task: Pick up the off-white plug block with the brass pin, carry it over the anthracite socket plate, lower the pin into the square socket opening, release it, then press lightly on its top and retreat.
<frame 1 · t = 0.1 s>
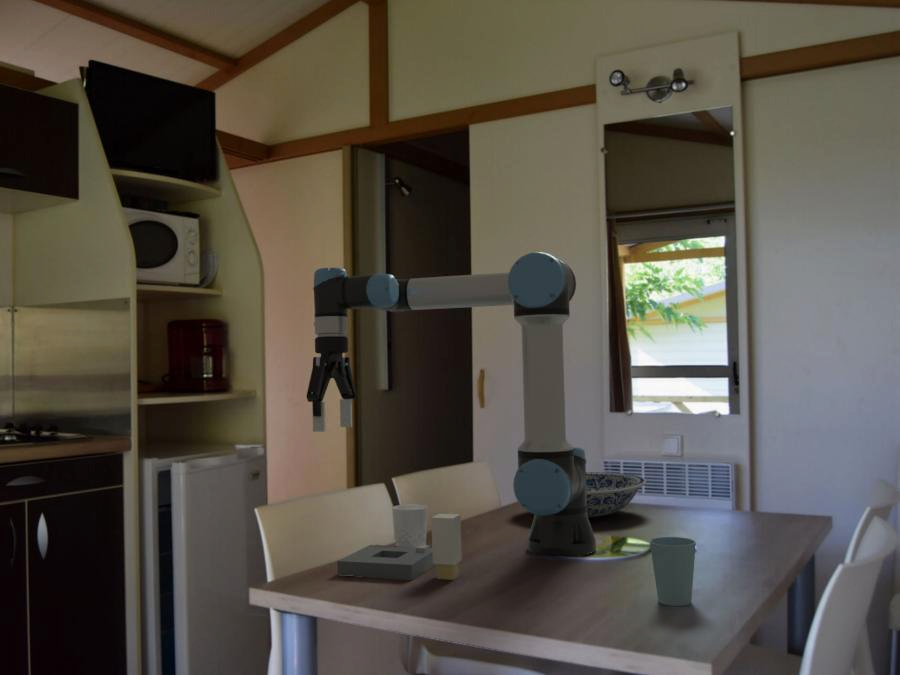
hand: (333, 429, 195), 28 cm above the table, fingers open, 13 cm apart
ceramic bowl: (582, 517, 234), on the table
plug: (447, 577, 169), on the table
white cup: (410, 552, 194), on the table
cup: (674, 603, 148), on the table
socket plate: (389, 568, 177), on the table
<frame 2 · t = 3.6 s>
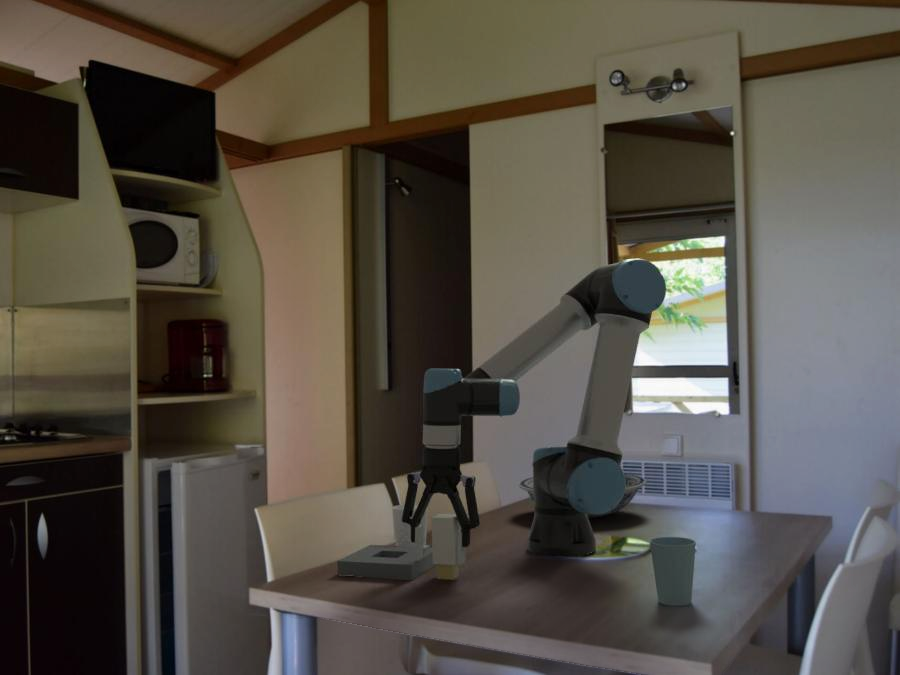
hand: (439, 561, 170), 3 cm above the table, fingers open, 8 cm apart
nothing on the table moved.
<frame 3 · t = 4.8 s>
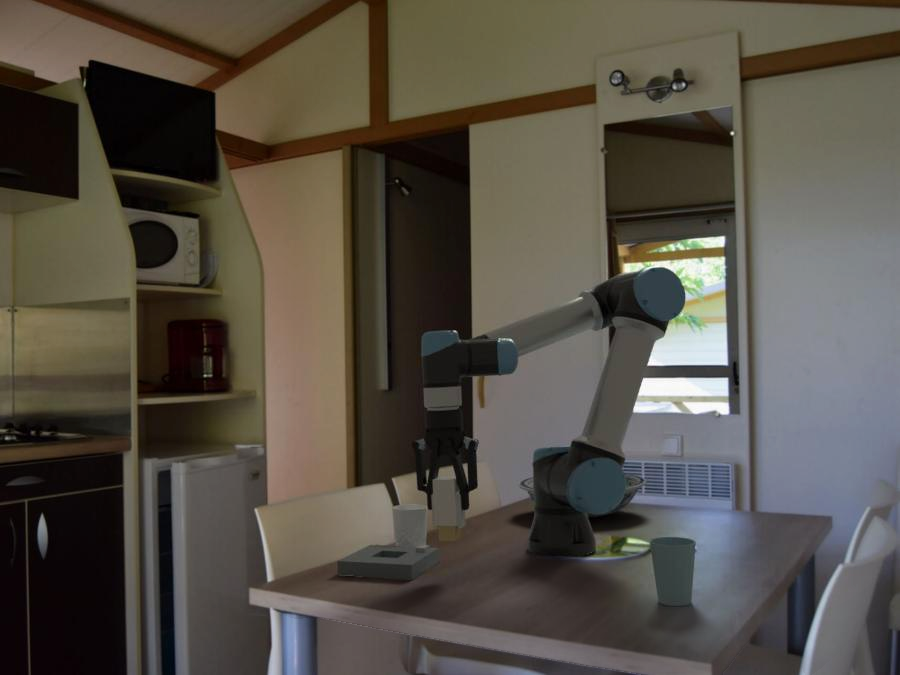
hand: (449, 526, 170), 10 cm above the table, fingers closed on plug, 4 cm apart
plug: (450, 538, 170), point 7 cm above the table, touching gripper
everything else where it was.
when the fingers open (4 cm above the table, at t = 7.9 s): plug drops 1 cm, resting in socket plate.
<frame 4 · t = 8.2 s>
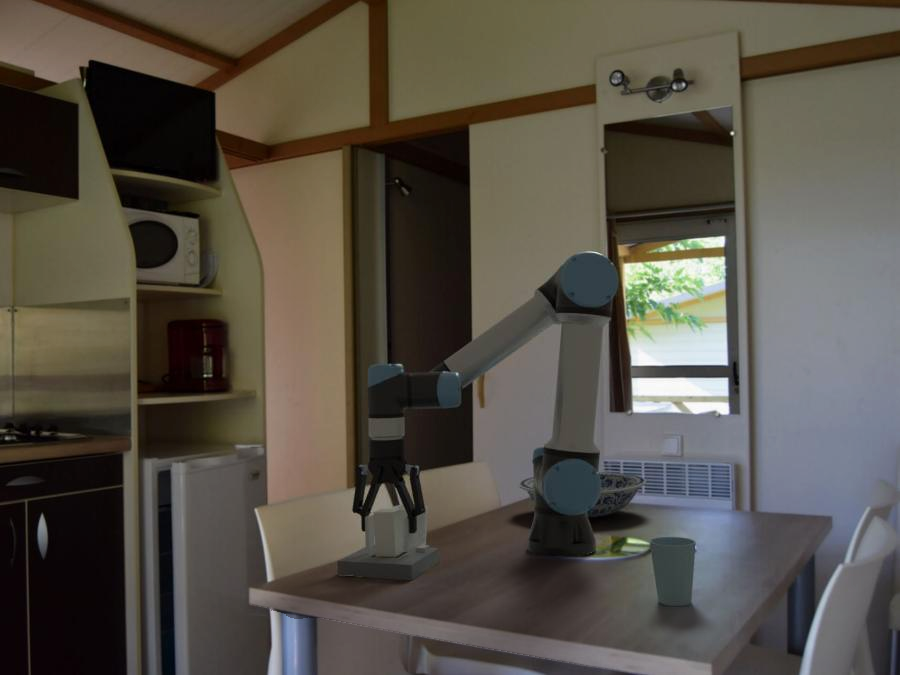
hand: (389, 548, 178), 4 cm above the table, fingers open, 8 cm apart
plug: (390, 568, 177), resting in socket plate
everything else where it was.
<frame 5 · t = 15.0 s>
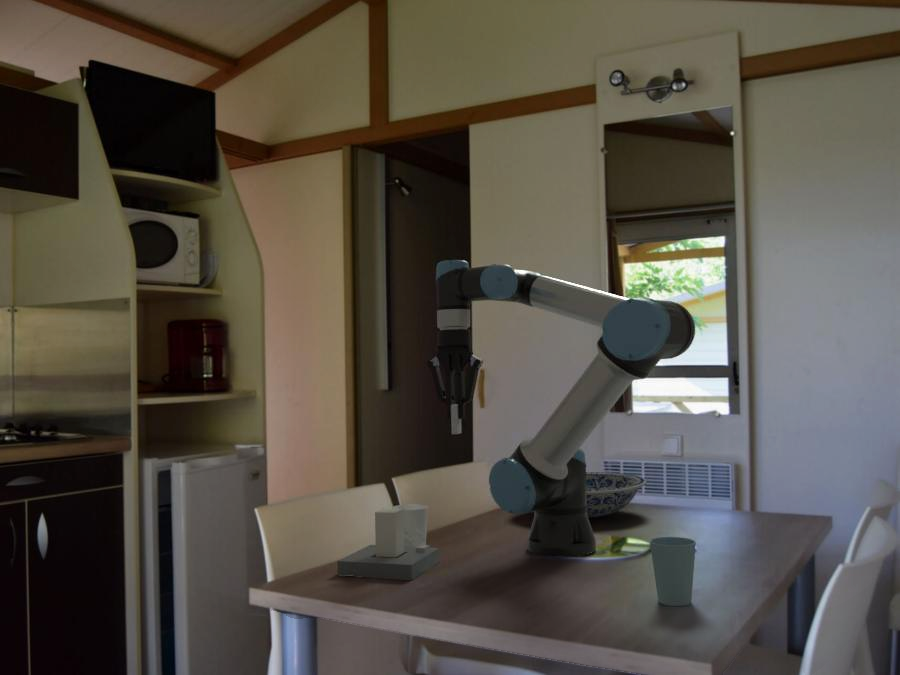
hand: (456, 433, 194), 26 cm above the table, fingers closed
nothing on the table moved.
at the end: plug 0.1 cm off-centre on the socket plate, point 0.0 cm above the socket plate's base; plug tilted 0°; the gripper is holding nothing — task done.
